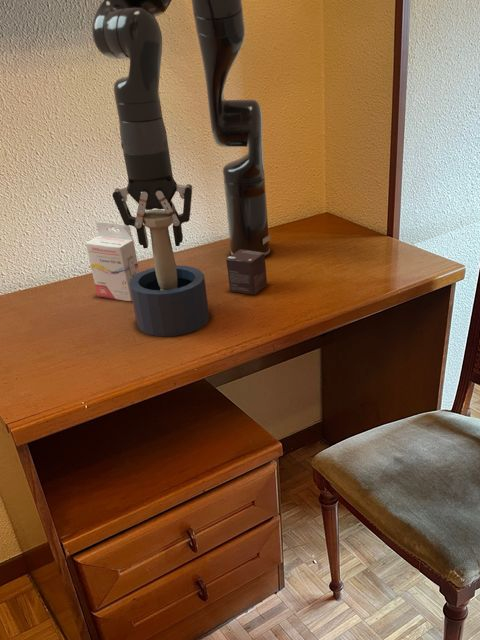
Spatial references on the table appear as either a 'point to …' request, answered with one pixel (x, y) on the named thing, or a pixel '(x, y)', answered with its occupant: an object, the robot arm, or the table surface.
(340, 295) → the table surface
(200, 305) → the jar
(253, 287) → the box
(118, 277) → the ink cartridge box
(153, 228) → the handle
